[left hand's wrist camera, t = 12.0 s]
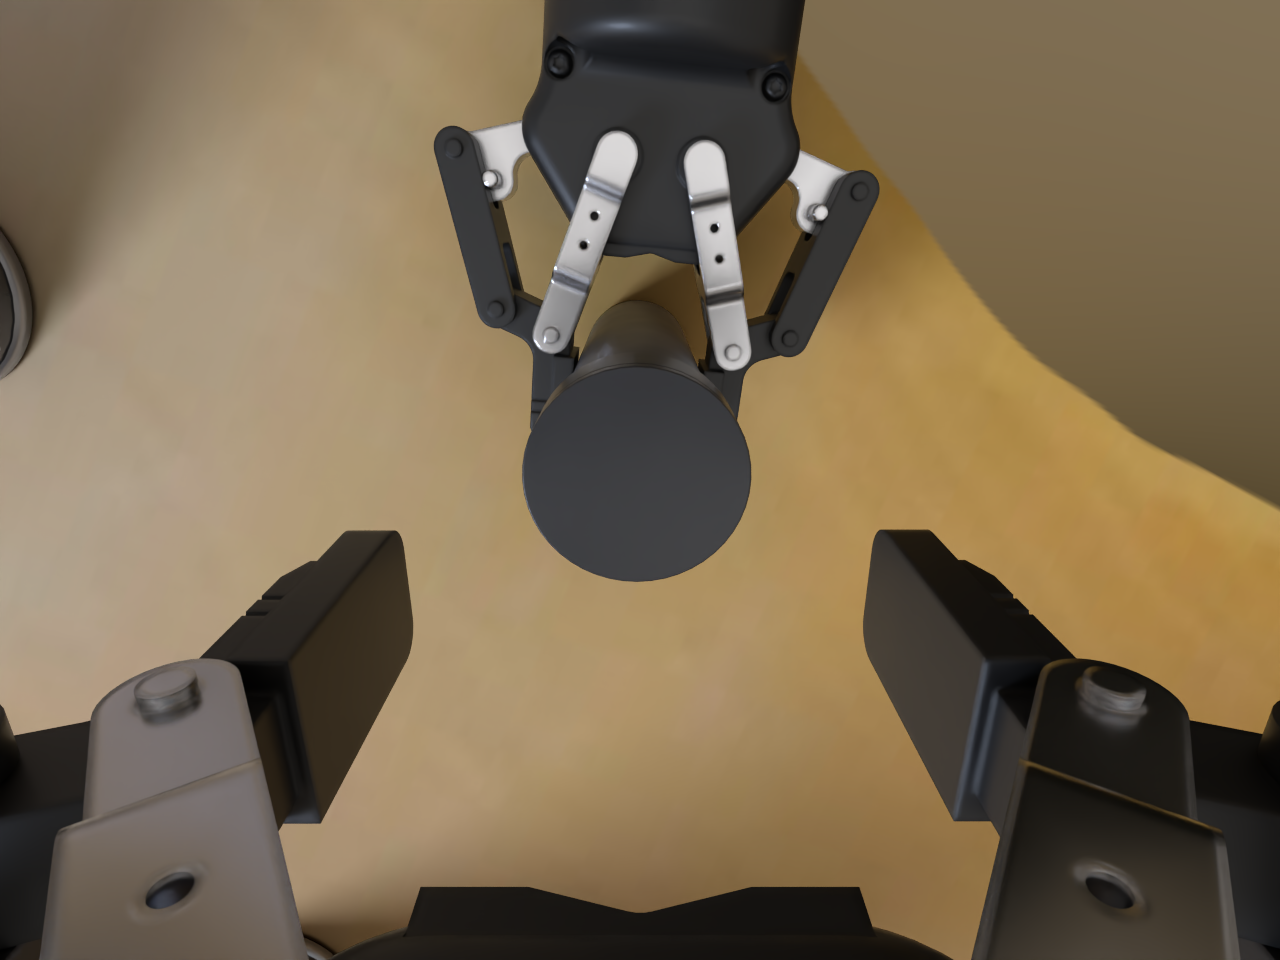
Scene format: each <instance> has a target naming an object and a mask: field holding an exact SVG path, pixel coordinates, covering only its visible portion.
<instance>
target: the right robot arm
mask: <svg viewBox="0 0 1280 960" xmlns="http://www.w3.org/2000/svg"><path fill="white" fill-rule="evenodd" d="M804 4H805V0H545V6H544V29H543V53H542V68H541V74H540V78H539V81H538V85H537V87H536V89H535V92H534V94H533V96H532V97H531V99H530V101H529V102H528V104H527V106H526V108H525V111H524V114H523V119H522V120H521V121H516V122H512V123H507V124H502V125H498V126H493V127H489V128H484V129H480V130H475V131H466V130H464V129H462V128H460V127H457V126H448V127H445V128H443V129H442V130H440V131H439V133H438V134H437V136H436V138H435V141H434V151H435V155H436V159H437V163H438V167H439V170H440V174H441V178H442V181H443V185H444V189H445V192H446V196H447V200H448V204H449V207H450V211H451V215H452V218H453V222H454V226H455V230H456V233H457V237H458V241H459V244H460V248H461V252H462V256H463V259H464V263H465V267H466V270H467V274H468V278H469V282H470V285H471V289H472V293H473V296H474V300H475V304H476V308H477V311H478V314H479V317H480V319H481V320H482V321H483V322H484V323H485V324H486V325H488V326H490V327H492V328H501V329H503V330H506V331H508V332H510V333H512V334H514V335H516V336H518V337H520V338H522V339H523V340H524V341H526V343H527V344H528V345H529V346H530V348H531V350H532V353H533V378H532V401H531V422H530V428H531V431H532V429H533V427H534V425H535V423H536V421H537V419H538V417H539V415H540V413H541V411H542V409H543V407H544V405H545V404H546V402H547V400H548V399H549V397H550V396H551V394H552V393H553V392H554V391H555V389H556V388H557V387H558V386H559V385H560V384H561V383H562V382H563V381H564V380H565V379H566V378H567V377H568V376H569V375H571V374H572V373H573V372H574V371H575V368H576V366H577V364H578V359H579V347H573V345H574V332H575V329H576V327H577V324H578V321H579V319H580V316H581V314H582V311H583V308H584V306H585V303H586V300H587V298H588V295H589V293H590V290H591V287H592V285H593V283H594V280H595V278H596V275H597V273H598V270H599V267H600V265H601V262H602V260H603V257H604V255H605V256H615V257H631V256H637V255H642V254H648V253H652V254H655V255H658V256H660V257H663V258H665V259H668V260H670V261H673V262H676V263H686V264H693V267H694V273H695V278H696V284H697V289H698V293H699V297H700V302H701V308H702V313H703V319H704V325H705V330H706V336H707V349H706V357H705V360H704V359H699V363H698V369H699V371H700V373H702V374H703V375H704V376H705V377H706V378H707V379H709V380H710V381H711V382H712V383H713V384H714V385H715V386H716V388H717V389H718V390H719V391H720V392H721V393H722V395H723V396H724V398H725V400H726V401H727V403H728V404H729V406H730V408H731V410H732V412H733V414H734V416H735V418H736V420H737V417H738V411H739V404H740V397H741V390H742V384H743V378H744V375H745V373H746V371H747V370H748V369H749V367H750V366H752V365H753V364H754V363H756V362H758V361H761V360H764V359H768V358H772V357H776V356H780V355H781V356H784V357H793V356H796V355H798V354H800V353H801V352H802V351H803V350H804V349H805V347H806V346H807V344H808V342H809V340H810V337H811V335H812V333H813V331H814V329H815V327H816V325H817V323H818V321H819V319H820V317H821V315H822V313H823V311H824V308H825V306H826V304H827V302H828V300H829V298H830V296H831V294H832V292H833V290H834V288H835V286H836V284H837V282H838V279H839V277H840V275H841V273H842V271H843V269H844V267H845V265H846V263H847V261H848V259H849V257H850V255H851V253H852V250H853V248H854V246H855V244H856V242H857V240H858V238H859V236H860V234H861V232H862V230H863V228H864V226H865V224H866V221H867V219H868V217H869V215H870V213H871V211H872V209H873V207H874V205H875V203H876V201H877V198H878V195H879V183H878V181H877V179H876V177H875V176H874V175H873V174H872V173H870V172H868V171H865V170H859V171H845V170H843V169H841V168H839V167H836V166H834V165H832V164H830V163H828V162H826V161H823V160H821V159H819V158H817V157H815V156H813V155H810V154H808V153H806V152H804V151H802V150H800V140H799V135H798V132H797V129H796V126H795V123H794V120H793V115H792V107H791V93H792V85H793V78H794V71H795V64H796V58H797V51H798V44H799V37H800V31H801V24H802V17H803V11H804ZM528 156H532V158H533V160H534V161H535V163H536V165H537V167H538V168H539V170H540V172H541V173H542V175H543V177H544V179H545V180H546V182H547V184H548V185H549V187H550V189H551V190H552V192H553V194H554V196H555V197H556V199H557V201H558V202H559V204H560V206H561V208H562V209H563V211H564V213H565V214H566V216H567V218H568V220H569V221H570V225H569V227H568V230H567V233H566V236H565V239H564V241H563V244H562V247H561V250H560V252H559V255H558V258H557V261H556V263H555V266H554V270H553V273H552V278H551V281H550V284H549V287H548V289H547V292H546V295H545V298H544V300H543V301H542V300H540V299H538V298H536V297H534V296H532V295H530V294H528V293H526V292H524V289H523V285H522V281H521V277H520V273H519V269H518V265H517V261H516V257H515V253H514V249H513V245H512V240H511V236H510V232H509V228H508V224H507V220H506V216H505V212H504V208H503V204H502V202H503V201H506V200H509V199H510V198H511V197H513V195H514V194H515V193H516V190H517V187H518V177H517V174H518V168H519V166H520V164H521V162H522V161H523V160H524V159H525V158H527V157H528ZM784 183H786V184H787V185H788V186H789V187H790V189H791V190H792V193H793V205H792V209H791V221H792V223H793V225H794V226H795V228H796V229H798V230H799V231H801V232H802V233H801V235H800V237H799V239H798V242H797V244H796V246H795V248H794V250H793V253H792V255H791V257H790V259H789V261H788V264H787V266H786V268H785V270H784V272H783V275H782V277H781V279H780V281H779V283H778V286H777V288H776V290H775V292H774V294H773V297H772V299H771V301H770V303H769V305H768V308H767V310H766V312H765V314H764V315H763V316H759V317H756V318H752V319H748V320H747V318H746V312H745V305H744V297H743V295H744V287H743V279H742V272H741V266H740V259H739V253H738V246H737V240H736V237H737V236H738V235H739V234H740V233H741V231H742V230H743V229H744V228H745V227H746V226H747V225H748V224H749V222H750V221H751V220H752V219H753V218H754V217H755V216H756V214H757V213H758V212H759V211H760V210H761V209H762V208H763V206H764V205H765V204H766V203H767V202H768V201H769V200H770V198H771V197H772V196H773V195H774V194H775V193H776V192H777V191H778V189H779V188H780V187H781V186H782V185H783V184H784ZM31 328H32V303H31V296H30V291H29V287H28V283H27V280H26V277H25V274H24V271H23V269H22V267H21V264H20V262H19V260H18V258H17V256H16V254H15V252H14V250H13V248H12V247H11V245H10V244H9V242H8V241H7V239H6V237H5V236H4V235H3V233H2V232H1V231H0V380H1V379H2V378H4V377H5V376H6V375H7V374H9V373H10V372H11V371H12V370H13V369H14V367H15V366H16V365H17V364H18V362H19V361H20V359H21V357H22V356H23V354H24V352H25V350H26V347H27V345H28V341H29V338H30V334H31Z"/></svg>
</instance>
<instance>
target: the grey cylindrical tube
mask: <svg viewBox="0 0 1280 960" xmlns="http://www.w3.org/2000/svg"><path fill="white" fill-rule="evenodd" d="M627 352H647V353H655V354H660V355H665V356H668V357H671V358H674V359H677V360H679V361H681V362H683V363H685V364H687V365H689V366H691V367H693V368H694V369H696V370H697V371H699V369H698V367H697V364H696V362H695V359H694V357H693V355H692V352H691V350H690V347H689V345H688V342H687V340H686V338H685V335H684V333H683V331H682V329H681V326H680V325H679V323H678V322H677V320H676V319H675V318H674V317H673V315H671V314H670V313H669V312H668V311H667V310H665V309H664V308H662V307H661V306H659V305H657V304H654V303H651V302H647V301H639V300H635V301H627V302H623V303H620V304H617V305H615V306H613V307H611V308H610V309H608V310H607V311H606V312H605V313H603V314H602V315H601V316H600V318H599V319H598V320H597V321H596V323H595V324H594V326H593V328H592V330H591V332H590V335H589V337H588V340H587V342H586V344H585V347H584V349H583V352H582V354H581V356H580V359H579V361H578V364H577V366H576V368H575V371H576V370H578V369H579V368H581V367H582V366H584V365H586V364H588V363H590V362H592V361H594V360H597V359H600V358H603V357H606V356H609V355H614V354H619V353H627ZM575 371H574V372H575ZM699 372H700V371H699Z"/></svg>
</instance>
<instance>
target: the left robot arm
mask: <svg viewBox="0 0 1280 960" xmlns="http://www.w3.org/2000/svg"><path fill="white" fill-rule="evenodd" d="M863 634H864V642H865V647H866V651H867V654H868V657H869V659H870V661H871V663H872V665H873V667H874V669H875V671H876V673H877V675H878V677H879V679H880V680H881V682H882V684H883V686H884V688H885V690H886V692H887V694H888V696H889V698H890V700H891V702H892V703H893V705H894V707H895V709H896V711H897V713H898V715H899V717H900V719H901V721H902V723H903V725H904V727H905V728H906V730H907V732H908V734H909V736H910V738H911V740H912V742H913V744H914V746H915V748H916V750H917V751H918V753H919V755H920V757H921V759H922V761H923V763H924V765H925V767H926V769H927V771H928V773H929V774H930V776H931V778H932V780H933V782H934V784H935V786H936V788H937V790H938V792H939V794H940V796H941V797H942V799H943V801H944V803H945V805H946V807H947V809H948V811H949V813H950V815H951V817H952V819H953V820H954V821H991V822H992V824H993V826H994V827H995V829H996V831H997V832H998V834H999V836H1000V841H999V845H998V849H997V853H996V858H995V862H994V866H993V870H992V874H991V879H990V883H989V887H988V891H987V895H986V900H985V904H984V908H983V912H982V916H981V921H980V925H979V929H978V933H977V937H976V942H975V946H974V950H973V954H972V958H971V960H1280V701H1278V702H1277V703H1276V704H1275V705H1274V706H1273V708H1272V711H1271V714H1270V716H1269V719H1268V722H1267V724H1266V727H1265V730H1264V732H1263V734H1259V733H1254V732H1249V731H1243V730H1238V729H1233V728H1228V727H1222V726H1217V725H1212V724H1207V723H1202V722H1196V721H1191V720H1189V716H1188V712H1187V710H1186V709H1185V707H1184V705H1183V704H1182V703H1181V702H1180V701H1179V700H1178V698H1177V697H1175V696H1174V695H1173V694H1172V693H1171V692H1170V691H1168V690H1167V689H1165V688H1164V687H1163V686H1161V685H1160V684H1158V683H1156V682H1154V681H1153V680H1151V679H1149V678H1147V677H1145V676H1143V675H1141V674H1139V673H1137V672H1134V671H1131V670H1129V669H1126V668H1123V667H1120V666H1117V665H1114V664H1110V663H1106V662H1102V661H1096V660H1090V659H1076V658H1075V657H1074V656H1073V654H1072V653H1071V652H1070V651H1069V650H1068V649H1067V648H1066V647H1065V646H1064V645H1063V644H1062V643H1061V642H1060V641H1059V640H1058V639H1057V638H1056V637H1055V636H1054V635H1053V634H1052V633H1051V632H1050V631H1049V630H1048V629H1047V628H1046V627H1045V626H1044V625H1043V624H1042V623H1041V622H1040V621H1039V620H1038V619H1037V618H1036V617H1035V616H1034V615H1029V610H1028V609H1027V608H1026V607H1025V606H1024V605H1023V604H1022V603H1021V602H1020V601H1019V600H1018V599H1013V594H1012V593H1011V592H1010V591H1009V590H1008V589H1007V588H1006V587H1005V586H1004V585H1003V584H1002V583H1001V582H1000V581H999V580H998V579H997V578H996V577H995V576H994V575H992V574H990V573H988V572H986V571H984V570H982V569H981V568H979V567H977V566H975V565H973V564H971V563H970V562H968V561H966V560H958V559H957V558H956V557H955V556H954V555H953V554H952V553H951V552H950V551H949V550H948V549H947V547H946V546H945V545H944V544H943V543H942V542H941V541H940V540H939V539H938V538H937V537H936V536H935V535H934V534H933V533H932V532H931V531H930V530H879V531H878V532H877V534H876V535H875V538H874V541H873V546H872V554H871V562H870V570H869V578H868V586H867V594H866V602H865V610H864V618H863ZM412 638H413V616H412V608H411V600H410V593H409V585H408V577H407V569H406V561H405V553H404V546H403V542H402V539H401V536H400V534H399V533H398V532H397V531H346V532H344V533H343V534H342V535H341V536H340V537H339V538H338V539H337V541H336V542H335V543H334V544H333V545H332V546H331V547H330V548H329V549H328V550H327V551H326V552H325V553H324V554H323V555H322V556H321V557H320V559H319V560H318V561H310V562H308V563H306V564H304V565H302V566H301V567H299V568H297V569H295V570H293V571H291V572H289V573H288V574H286V575H284V576H282V577H280V578H279V579H278V580H277V581H276V582H275V583H274V584H273V585H272V586H271V587H270V588H269V589H268V590H267V591H266V592H265V593H264V594H263V595H262V600H257V601H256V602H255V603H254V604H253V605H252V606H251V607H250V608H249V609H248V610H247V611H246V616H241V617H240V618H239V619H238V620H237V621H236V622H235V623H234V624H233V625H232V626H231V627H230V628H229V629H228V630H227V631H226V632H225V633H224V634H223V635H222V636H221V637H220V638H219V639H218V640H217V641H216V642H215V643H214V644H213V645H212V646H211V647H210V648H209V649H208V650H207V651H206V652H205V653H204V654H203V655H202V656H201V657H200V658H199V659H190V660H184V661H178V662H174V663H170V664H166V665H163V666H160V667H157V668H154V669H151V670H149V671H146V672H143V673H141V674H139V675H137V676H135V677H133V678H131V679H129V680H127V681H126V682H124V683H122V684H120V685H119V686H117V687H116V688H115V689H113V690H112V691H110V692H109V693H108V694H107V695H106V696H105V697H103V698H102V700H101V701H100V702H99V703H98V704H97V705H96V707H95V709H94V710H93V712H92V716H91V721H87V722H83V723H77V724H72V725H67V726H62V727H56V728H51V729H46V730H41V731H36V732H30V733H25V734H20V735H15V736H14V735H13V732H12V729H11V727H10V724H9V721H8V719H7V716H6V713H5V711H4V708H3V707H2V706H1V705H0V960H953V959H951V958H949V957H948V956H946V955H944V954H943V953H941V952H939V951H936V950H934V949H932V948H930V947H928V946H926V945H924V944H921V943H919V942H917V941H915V940H912V939H910V938H907V937H904V936H901V935H898V934H896V933H893V932H890V931H887V930H883V929H879V928H876V927H872V924H871V921H870V918H869V915H868V912H867V909H866V906H865V903H864V900H863V897H862V894H861V891H860V888H859V887H750V888H746V889H742V890H737V891H733V892H729V893H725V894H721V895H717V896H713V897H709V898H705V899H701V900H697V901H693V902H689V903H685V904H681V905H677V906H673V907H669V908H664V909H660V910H656V911H652V912H646V913H634V912H628V911H624V910H620V909H616V908H611V907H607V906H603V905H599V904H595V903H591V902H587V901H583V900H579V899H575V898H571V897H567V896H563V895H559V894H555V893H551V892H547V891H543V890H538V889H534V888H530V887H421V888H420V891H419V894H418V897H417V900H416V903H415V906H414V909H413V912H412V915H411V918H410V921H409V924H408V927H404V928H401V929H397V930H393V931H390V932H387V933H384V934H382V935H379V936H376V937H373V938H370V939H368V940H365V941H363V942H361V943H359V944H356V945H354V946H352V947H350V948H348V949H346V950H344V951H341V952H339V953H337V954H336V955H333V954H332V953H330V952H329V951H328V950H326V949H325V948H323V947H322V946H320V945H318V944H317V943H315V942H313V941H311V940H308V939H306V938H304V937H303V933H302V929H301V925H300V921H299V916H298V912H297V908H296V904H295V900H294V895H293V891H292V887H291V883H290V879H289V874H288V870H287V866H286V862H285V858H284V853H283V849H282V845H281V841H280V837H279V832H278V831H279V830H280V828H281V826H282V824H321V822H322V820H323V818H324V816H325V814H326V812H327V810H328V809H329V807H330V805H331V803H332V801H333V799H334V797H335V795H336V793H337V791H338V790H339V788H340V786H341V784H342V782H343V780H344V778H345V776H346V774H347V773H348V771H349V769H350V767H351V765H352V763H353V761H354V759H355V757H356V756H357V754H358V752H359V750H360V748H361V746H362V744H363V742H364V740H365V739H366V737H367V735H368V733H369V731H370V729H371V727H372V725H373V723H374V722H375V720H376V718H377V716H378V714H379V712H380V710H381V708H382V706H383V704H384V703H385V701H386V699H387V697H388V695H389V693H390V691H391V689H392V687H393V686H394V684H395V682H396V680H397V678H398V676H399V674H400V672H401V670H402V669H403V667H404V665H405V663H406V661H407V659H408V656H409V653H410V650H411V645H412Z"/></svg>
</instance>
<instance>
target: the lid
mask: <svg viewBox="0 0 1280 960" xmlns="http://www.w3.org/2000/svg"><path fill="white" fill-rule="evenodd" d="M522 481H523V489H524V495H525V499H526V502H527V506H528V509H529V511H530V514H531V516H532V518H533V520H534V522H535V524H536V526H537V527H538V529H539V531H540V532H541V534H542V535H543V536H544V537H545V539H546V540H547V541H548V542H549V544H550V545H551V546H552V547H553V548H554V549H556V550H557V551H558V552H559V553H560V554H561V555H562V556H564V557H565V558H566V559H568V560H569V561H570V562H572V563H573V564H575V565H577V566H579V567H580V568H582V569H584V570H586V571H589V572H591V573H593V574H596V575H599V576H602V577H606V578H609V579H615V580H621V581H633V582H641V581H653V580H659V579H664V578H668V577H671V576H675V575H678V574H680V573H683V572H685V571H687V570H689V569H692V568H693V567H695V566H697V565H698V564H700V563H702V562H703V561H705V560H706V559H707V558H709V557H710V556H711V555H713V554H714V553H715V552H716V551H717V550H718V549H719V548H720V547H721V546H722V545H723V544H724V543H725V542H726V541H727V539H728V538H729V537H730V535H731V534H732V533H733V532H734V530H735V528H736V526H737V525H738V523H739V521H740V520H741V517H742V515H743V512H744V510H745V508H746V505H747V501H748V497H749V493H750V485H751V462H750V455H749V450H748V447H747V443H746V440H745V437H744V435H743V433H742V430H741V428H740V426H739V424H738V422H737V420H736V418H735V416H734V414H733V412H732V410H731V408H730V406H729V404H728V403H727V401H726V400H725V398H724V396H723V395H722V393H721V392H720V391H719V390H718V389H717V388H716V386H715V385H714V384H713V383H712V382H711V381H710V380H709V379H707V378H706V377H705V376H704V375H703V374H702V373H700V372H699V371H697V370H696V369H694V368H693V367H691V366H689V365H687V364H685V363H683V362H681V361H679V360H677V359H674V358H671V357H668V356H665V355H660V354H655V353H647V352H627V353H619V354H614V355H609V356H606V357H603V358H600V359H597V360H594V361H592V362H590V363H588V364H586V365H584V366H582V367H581V368H579V369H578V370H576V371H575V372H573V373H572V374H571V375H569V376H568V377H567V378H566V379H565V380H564V381H563V382H562V383H561V384H560V385H559V386H558V387H557V388H556V389H555V391H554V392H553V393H552V394H551V396H550V397H549V399H548V400H547V402H546V404H545V405H544V407H543V409H542V411H541V413H540V415H539V417H538V419H537V421H536V423H535V425H534V427H533V429H532V432H531V434H530V436H529V438H528V442H527V445H526V448H525V452H524V459H523V465H522Z"/></svg>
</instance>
